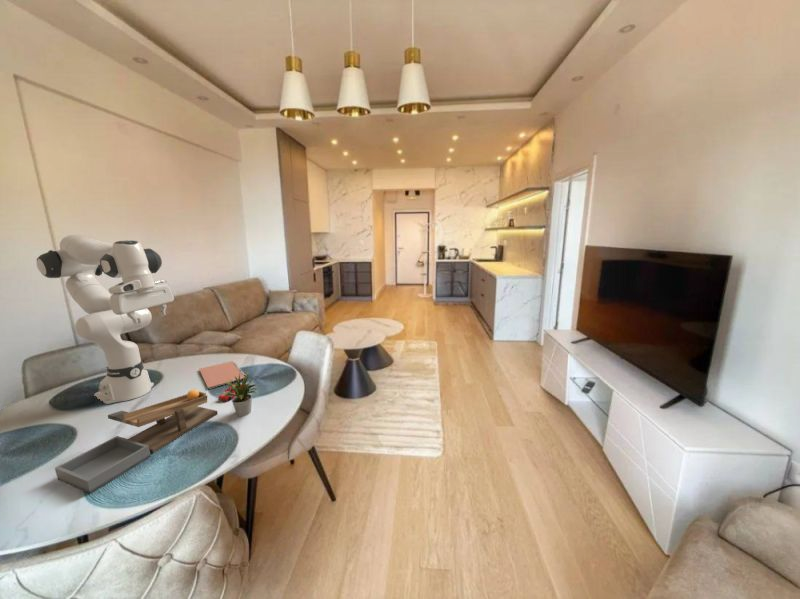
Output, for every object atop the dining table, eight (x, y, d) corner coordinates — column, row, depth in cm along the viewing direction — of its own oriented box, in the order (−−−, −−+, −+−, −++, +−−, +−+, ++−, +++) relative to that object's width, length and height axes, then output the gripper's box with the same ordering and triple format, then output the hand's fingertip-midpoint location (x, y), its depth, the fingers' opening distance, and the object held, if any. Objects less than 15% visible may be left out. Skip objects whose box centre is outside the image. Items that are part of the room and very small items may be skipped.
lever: (107, 420, 107) (108, 407, 106) (178, 398, 129) (179, 387, 129) (139, 429, 101) (139, 416, 101) (207, 404, 124) (207, 393, 124)
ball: (183, 400, 121) (185, 389, 122) (193, 398, 125) (195, 388, 125) (191, 402, 120) (192, 391, 120) (200, 400, 124) (202, 389, 124)
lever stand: (125, 444, 108) (120, 420, 106) (192, 408, 130) (188, 388, 128) (153, 453, 103) (148, 428, 101) (217, 414, 125) (214, 393, 123)
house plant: (228, 429, 115) (222, 388, 112) (215, 415, 124) (209, 376, 121) (267, 413, 125) (262, 374, 122) (252, 401, 135) (247, 365, 131)
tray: (57, 479, 93) (54, 467, 92) (119, 446, 107) (117, 435, 106) (90, 493, 87) (87, 481, 87) (150, 456, 102) (148, 445, 101)
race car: (225, 404, 133) (224, 395, 133) (215, 401, 135) (214, 393, 134) (250, 389, 145) (249, 381, 145) (241, 387, 147) (240, 379, 146)
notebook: (247, 380, 156) (247, 376, 155) (208, 391, 145) (207, 387, 145) (234, 363, 176) (234, 360, 176) (199, 371, 166) (199, 368, 166)
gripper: (161, 279, 129) (171, 312, 132) (102, 290, 110) (115, 328, 113) (172, 278, 127) (182, 311, 130) (114, 288, 108) (127, 327, 111)
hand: (150, 319), depth 121 cm, fingers open, 8 cm apart
